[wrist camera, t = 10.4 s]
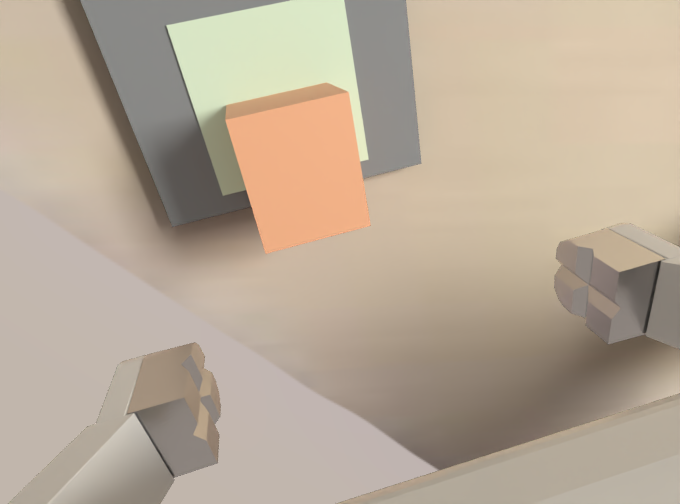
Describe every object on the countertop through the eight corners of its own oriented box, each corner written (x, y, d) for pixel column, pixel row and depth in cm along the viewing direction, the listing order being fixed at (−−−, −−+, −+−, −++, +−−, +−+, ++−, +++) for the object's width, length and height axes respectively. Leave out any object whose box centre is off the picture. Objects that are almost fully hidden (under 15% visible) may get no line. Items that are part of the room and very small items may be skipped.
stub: (326, 82, 21) (348, 92, 17) (347, 195, 24) (370, 225, 20) (226, 104, 21) (225, 119, 17) (259, 218, 23) (265, 253, 19)
